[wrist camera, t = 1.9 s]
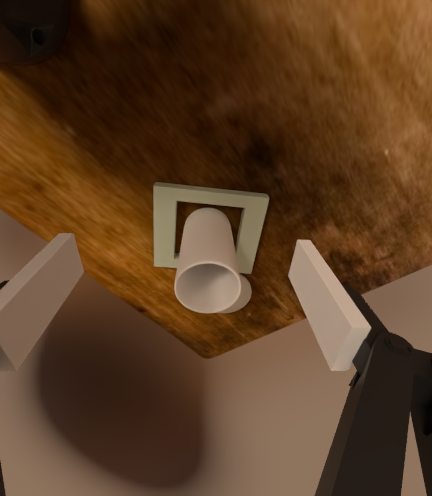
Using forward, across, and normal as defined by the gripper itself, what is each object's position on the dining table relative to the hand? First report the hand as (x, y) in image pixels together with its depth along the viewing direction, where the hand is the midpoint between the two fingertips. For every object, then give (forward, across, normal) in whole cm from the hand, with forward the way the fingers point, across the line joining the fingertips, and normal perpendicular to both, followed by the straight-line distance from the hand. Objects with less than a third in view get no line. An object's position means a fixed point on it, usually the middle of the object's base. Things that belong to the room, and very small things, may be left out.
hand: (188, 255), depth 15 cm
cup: (+27, +2, -12) cm, 30 cm away
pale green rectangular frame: (+27, +2, -12) cm, 29 cm away
